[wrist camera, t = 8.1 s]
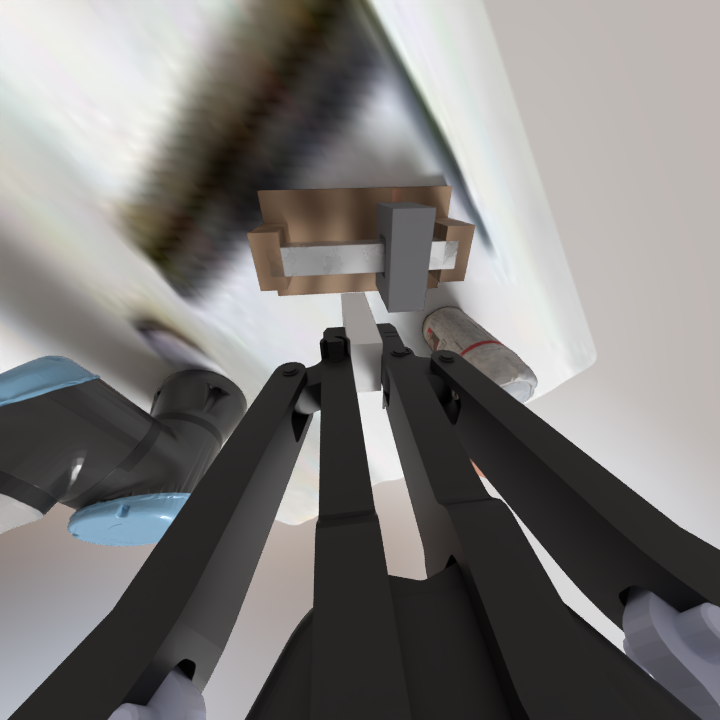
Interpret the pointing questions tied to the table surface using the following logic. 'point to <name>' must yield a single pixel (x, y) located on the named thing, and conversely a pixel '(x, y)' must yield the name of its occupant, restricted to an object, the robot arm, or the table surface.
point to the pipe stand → (344, 233)
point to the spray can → (479, 351)
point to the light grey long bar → (350, 257)
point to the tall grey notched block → (404, 254)
